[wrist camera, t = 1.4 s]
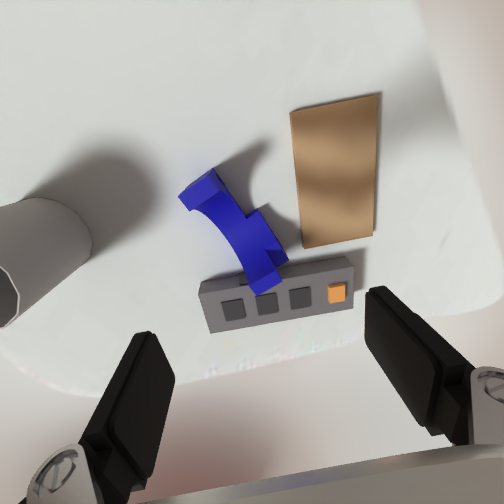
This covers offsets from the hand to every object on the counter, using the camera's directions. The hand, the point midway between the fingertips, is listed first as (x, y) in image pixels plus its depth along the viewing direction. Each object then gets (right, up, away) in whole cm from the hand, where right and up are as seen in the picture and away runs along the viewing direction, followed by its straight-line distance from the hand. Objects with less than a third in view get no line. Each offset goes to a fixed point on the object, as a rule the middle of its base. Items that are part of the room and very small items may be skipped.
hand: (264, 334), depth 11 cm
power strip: (+2, -1, +21) cm, 21 cm away
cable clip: (-2, +7, +16) cm, 18 cm away
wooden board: (+8, +11, +15) cm, 20 cm away
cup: (-22, +5, +15) cm, 28 cm away
